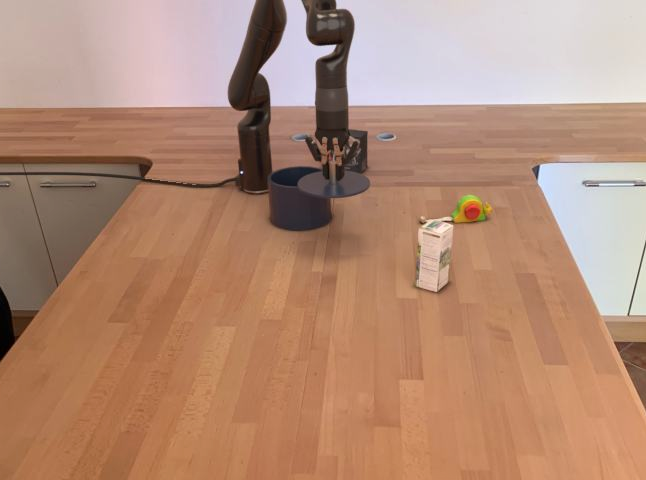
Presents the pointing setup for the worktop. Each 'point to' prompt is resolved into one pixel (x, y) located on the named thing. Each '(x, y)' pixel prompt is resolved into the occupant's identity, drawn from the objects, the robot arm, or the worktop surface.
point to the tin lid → (333, 183)
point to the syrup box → (433, 255)
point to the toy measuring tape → (466, 211)
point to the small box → (360, 157)
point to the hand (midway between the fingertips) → (333, 178)
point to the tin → (295, 201)
